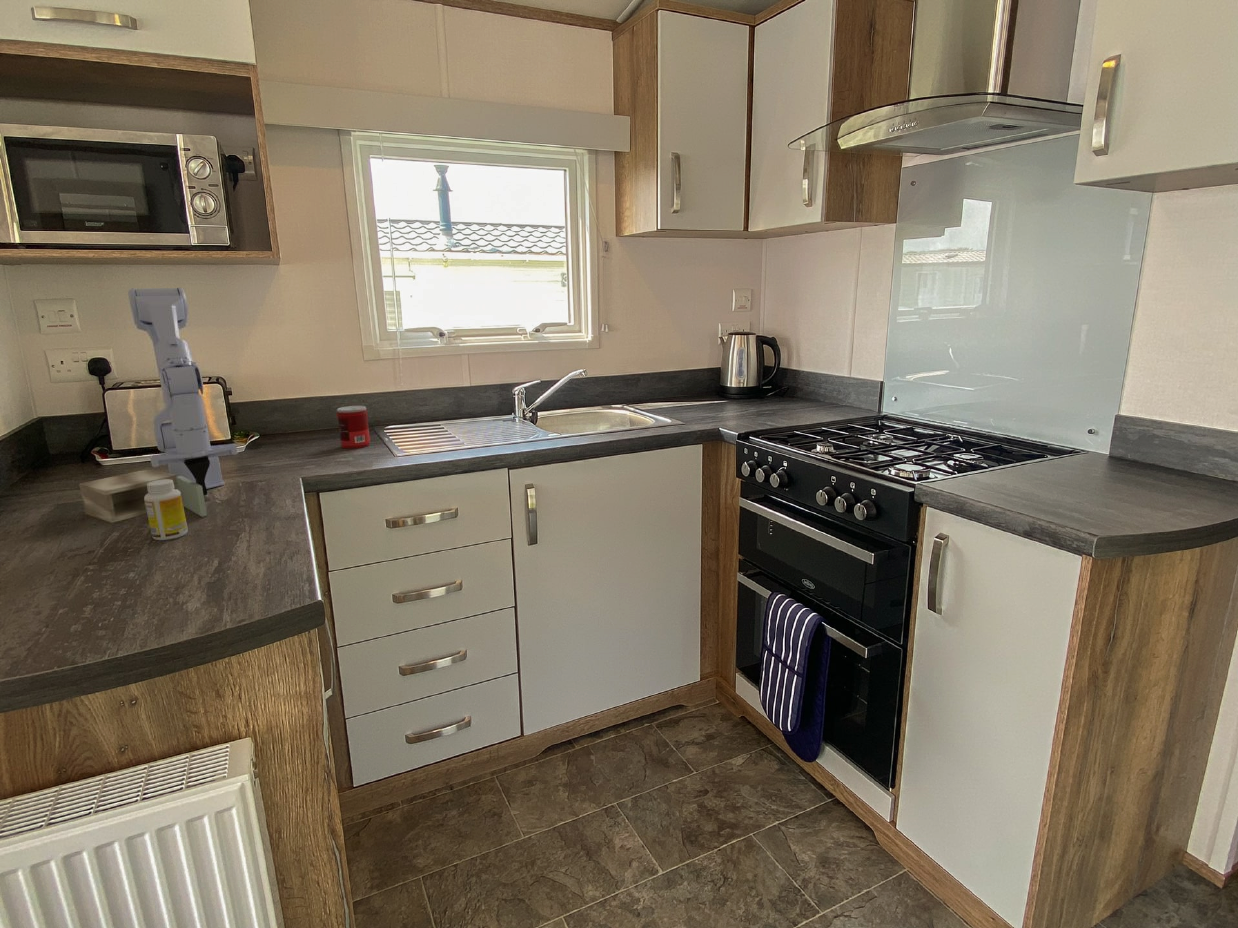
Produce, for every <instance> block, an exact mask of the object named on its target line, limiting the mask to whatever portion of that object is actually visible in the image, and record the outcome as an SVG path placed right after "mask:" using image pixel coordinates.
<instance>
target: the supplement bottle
mask: <svg viewBox="0 0 1238 928" xmlns="http://www.w3.org/2000/svg"><path fill="white" fill-rule="evenodd" d="M147 488H148V494H146V495H145V497H144V501H145V506H146V510H147V514H146V515H147V518H148V523H149V529H150V533H151V537H152V538H153V539H154V540H156V541H169V540H174V539H175V540H176V539H178V538H181V537H183V536H185V535H186V534H187V533H188V531H189V529H188V523H187V518H186V514H185V507H184V506H183V502H182V497H181V493H180V491H179V490H177V489H174V483H173V480H170V479H164V480H156V481H152V482H149V483H148V484H147Z"/></svg>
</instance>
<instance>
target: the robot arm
mask: <svg viewBox="0 0 1238 928" xmlns="http://www.w3.org/2000/svg"><path fill="white" fill-rule="evenodd" d="M127 295H128V300H129V305H130V311H131V315H132V317H133V324H134V325H135V326H136V328H137V329H138V330H141V331H144V332H146V333H147V335H148V336H149V338H150V340H151V342H152V347H153V351H154V352H153V353H154V358H155V361H156V367H157V371H158V377H159V381H160V386H161V387H160V388H161V392H162V397H163V402H164V403H163V404H164V407H163V408H162V409H161V410H160V411H159V412H157V413H156V414H155V415H154V416H153V420H152V423H153V432H154V437H155V442H156V447H157V449H158V450H159V451H160V452H163V453H159V454H154V455H149V458H150V464H151V466H152V467H153V468H155V467H156V468H157V467H160V466H164V465H168V466H167V467H168V471H169V472H168V473H170V474H174V475H177V476H183V477H185V478H187V479H189V480H191V481H193V482H195V483H197V484H199V485H201V486H202V489H203V495H207V494H208V489H211V488H216V487H221V486H224V485H225V484H226V483H225V482H224V480H223V476H222V471H221V469H222V468H221V464H220V459H219V457H223V456H229V455H230V456H233V455H238V454H239V453H238V447H237V444H235V443H229V444H218V445H211V442H210V441H211V440H210V434H209V429H208V424H207V418H206V413H205V407H204V401H203V396H202V395H203V394H204V382H203V376H202V373H201V370H200V368H199V366H198V364H197V363H196V361H194V358H193V356H192V355H193V354H192V351H191V349H190V345H189V343H188V342H187V341H186V340H185V339H182V338H180V330H181V329H183V328H186V327H187V323H188V315H189V307H188V301H187V296H186V292H185V290H184V289H182V288H181V287H177V288H176V287H175V288H174V287H172V288H168V287H167V288H134V287H130V288H129V290H128V291H127ZM167 421H170V422H167Z"/></svg>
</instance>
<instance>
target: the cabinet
mask: <svg viewBox="0 0 1238 928" xmlns="http://www.w3.org/2000/svg"><path fill="white" fill-rule="evenodd" d="M176 477H177V475H174V474H170V472H165V471H161V470H156V469H151V468H148V469H142V470H138V471H134V472H128V473H124V474H119V475H118V474H117V475H115V476H114V475H113V476H108V477H104V478H98V479H96V480H95V479H94V480H91V481H90V480H89V481H85V482H81V483H79V488H80V489H79V490H80V494H81V499H82V503H83V506H84V507H83V508H84V512H85V515H88V516H90V517H94V518H95V519H96V518H97V519H99V520H103V521H106V522H109V523H116V522H119V521H123V520H128V519H132V518H135V517H139V516H142V515H143V516H144V515H147V510H146V506H145V501H144V497H145V495H146V494H148V488H147V484H148V483H149V482H152V481H156V480H164V479H170V480H173V483H174V489H177V490H178V485H177V480H176Z"/></svg>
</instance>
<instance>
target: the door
mask: <svg viewBox="0 0 1238 928" xmlns="http://www.w3.org/2000/svg"><path fill="white" fill-rule="evenodd" d="M176 480H177V485H178V490H179V491H180V493H181V497H182V502H183V507H184V508H186V509H187V510H189V511H191V512H193V513H194V514H196V515H198V516H200V517H202V518H203V517H206V516H208V511H207V507H206V503H208V502H210V500H211V499H210V496H209V494H208V493H207V495H203V489H202V486H201V485H199V484H197V483H195V482H193V481H191V480H189V479H187V478H185V477H183V476H177V477H176Z"/></svg>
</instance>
